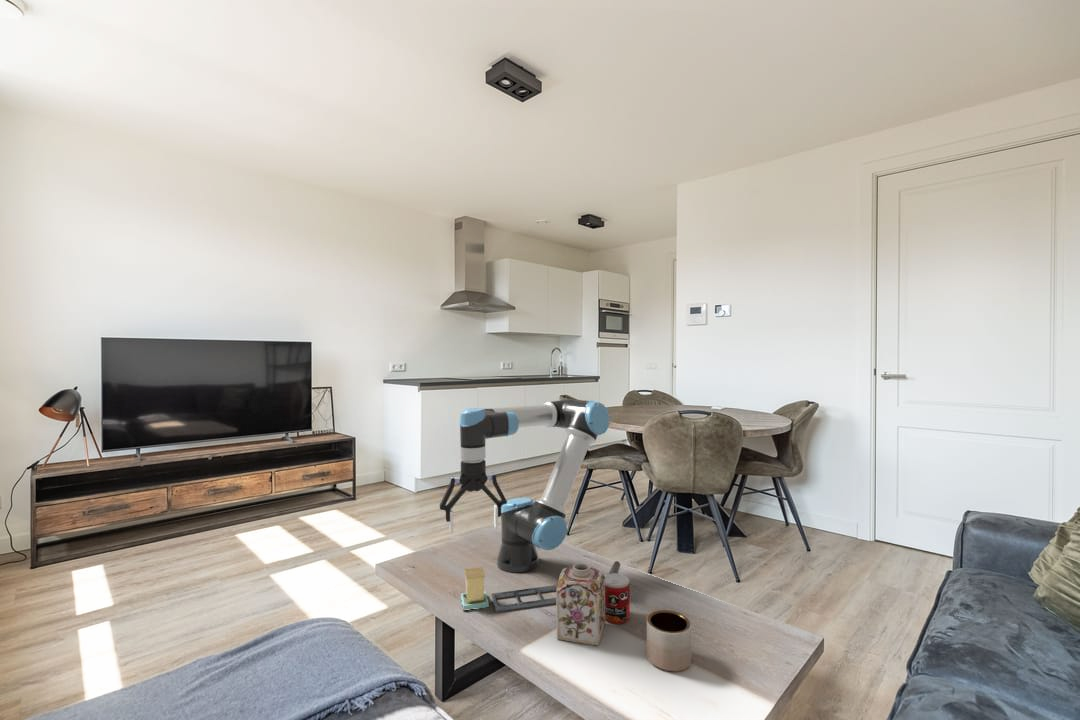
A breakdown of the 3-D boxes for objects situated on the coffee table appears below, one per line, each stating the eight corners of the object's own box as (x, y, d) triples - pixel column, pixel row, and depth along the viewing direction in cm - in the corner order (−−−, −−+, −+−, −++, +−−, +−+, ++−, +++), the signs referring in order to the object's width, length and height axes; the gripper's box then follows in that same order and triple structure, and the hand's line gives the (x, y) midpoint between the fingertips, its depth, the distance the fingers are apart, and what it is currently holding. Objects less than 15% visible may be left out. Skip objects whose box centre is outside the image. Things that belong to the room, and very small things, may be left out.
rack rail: (558, 588, 157) (558, 584, 157) (567, 602, 148) (567, 598, 148) (491, 597, 151) (491, 593, 151) (496, 612, 143) (496, 608, 143)
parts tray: (485, 595, 153) (485, 590, 153) (488, 607, 145) (488, 602, 145) (460, 598, 151) (460, 593, 151) (463, 611, 143) (463, 606, 143)
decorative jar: (606, 622, 137) (605, 559, 137) (599, 647, 126) (599, 578, 125) (564, 616, 140) (564, 555, 140) (555, 640, 129) (554, 573, 129)
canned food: (599, 621, 137) (599, 583, 137) (605, 607, 145) (605, 571, 145) (626, 627, 135) (626, 587, 135) (631, 612, 142) (631, 575, 142)
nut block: (482, 595, 151) (482, 566, 151) (485, 604, 146) (484, 575, 146) (464, 597, 150) (464, 569, 150) (466, 607, 145) (466, 577, 144)
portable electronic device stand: (599, 584, 160) (599, 558, 160) (623, 587, 158) (623, 561, 157) (595, 597, 151) (595, 570, 151) (620, 600, 149) (620, 573, 149)
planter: (664, 678, 114) (664, 638, 113) (637, 652, 124) (637, 614, 123) (701, 666, 118) (701, 627, 118) (672, 641, 128) (672, 605, 128)
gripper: (511, 454, 154) (511, 521, 154) (430, 460, 148) (431, 529, 148) (515, 460, 147) (516, 529, 147) (431, 465, 140) (432, 538, 141)
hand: (473, 529), depth 148 cm, fingers open, 13 cm apart
